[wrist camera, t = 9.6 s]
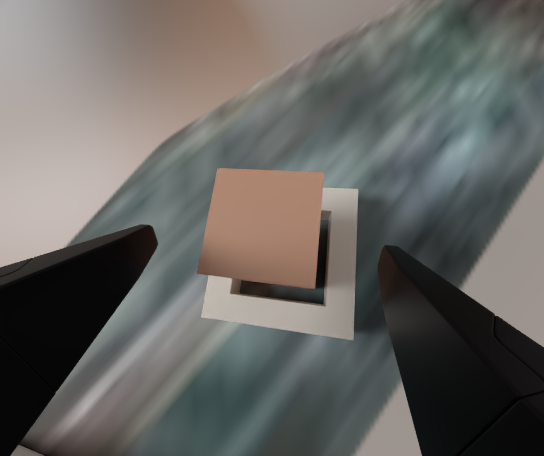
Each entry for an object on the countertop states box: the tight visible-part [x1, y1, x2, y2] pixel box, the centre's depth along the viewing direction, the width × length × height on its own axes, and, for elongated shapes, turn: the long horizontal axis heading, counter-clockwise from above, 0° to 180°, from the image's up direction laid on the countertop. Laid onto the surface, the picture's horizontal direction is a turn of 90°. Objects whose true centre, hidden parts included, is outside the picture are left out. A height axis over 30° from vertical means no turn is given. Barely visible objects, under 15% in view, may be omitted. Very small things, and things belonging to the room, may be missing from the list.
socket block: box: [201, 188, 358, 340], centre depth 17 cm, size 10×10×2 cm
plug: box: [197, 168, 324, 289], centre depth 14 cm, size 5×4×10 cm
